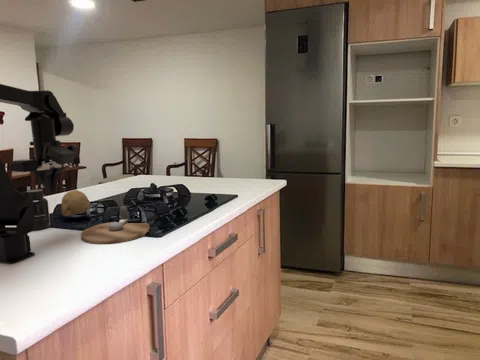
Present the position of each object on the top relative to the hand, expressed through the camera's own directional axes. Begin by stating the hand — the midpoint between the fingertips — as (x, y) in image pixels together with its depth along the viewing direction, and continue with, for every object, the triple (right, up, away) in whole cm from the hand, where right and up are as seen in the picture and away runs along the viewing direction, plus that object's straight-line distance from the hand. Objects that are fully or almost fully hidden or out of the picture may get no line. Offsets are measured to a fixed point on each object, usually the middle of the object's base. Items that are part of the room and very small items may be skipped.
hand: (50, 192), depth 107 cm
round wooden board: (+17, -12, +4) cm, 21 cm away
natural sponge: (-2, -10, +22) cm, 24 cm away
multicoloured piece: (+17, -10, +6) cm, 21 cm away
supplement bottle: (-10, -12, +13) cm, 20 cm away
